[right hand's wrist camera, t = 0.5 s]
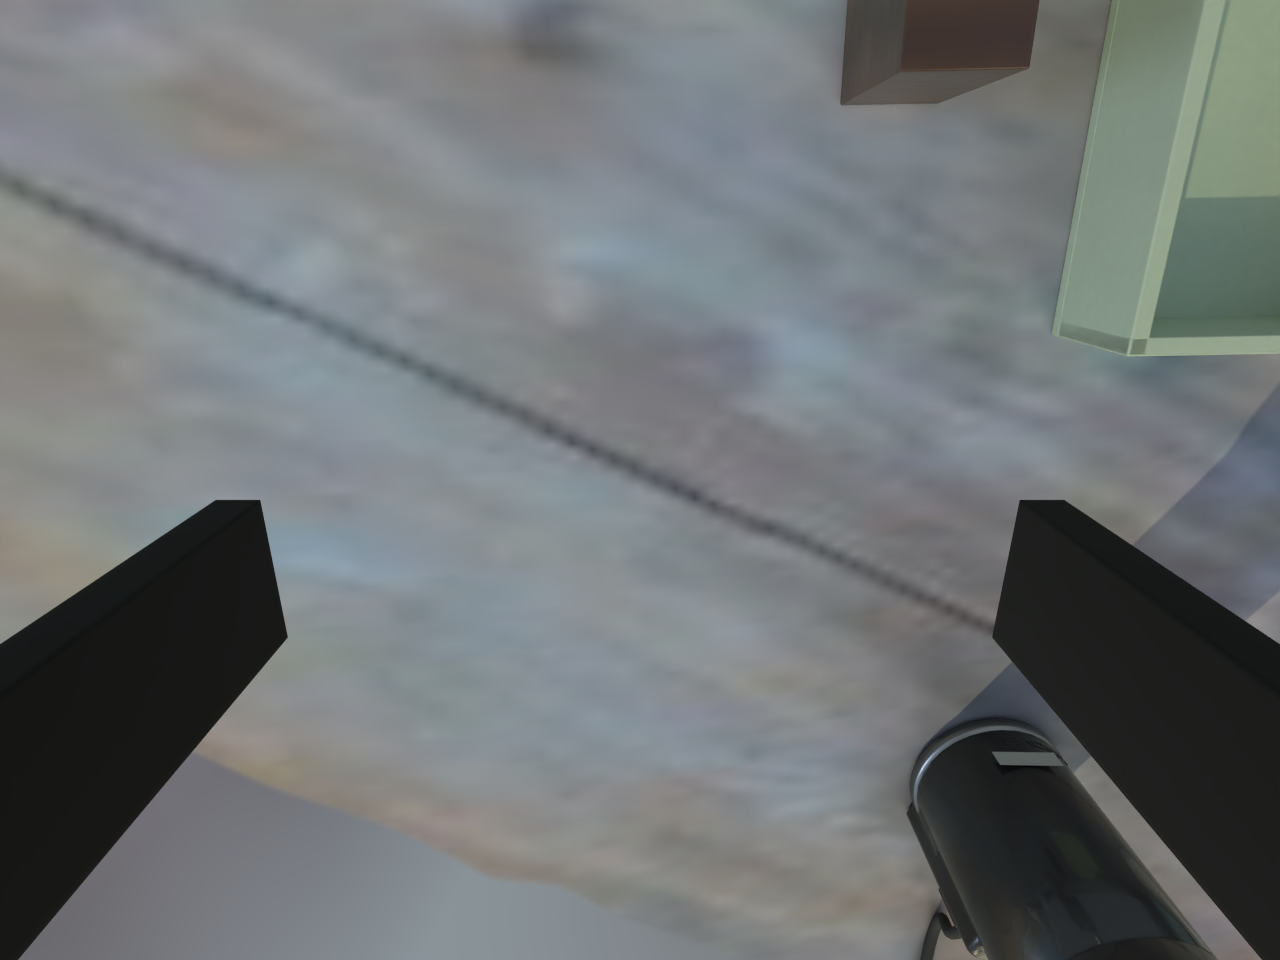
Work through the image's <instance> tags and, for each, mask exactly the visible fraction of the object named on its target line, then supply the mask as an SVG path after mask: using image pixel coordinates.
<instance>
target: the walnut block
mask: <svg viewBox="0 0 1280 960" xmlns="http://www.w3.org/2000/svg"><path fill="white" fill-rule="evenodd" d="M1038 6H1039V0H848V4H847V18H846V33H845V47H844V61H843V75H842V90H841V105H872V104H919V103H940V102H942V101H945V100H948V99H950V98H953V97H955V96H958V95H961V94H963V93H966V92H968V91H971V90H974V89H976V88H979V87H981V86H984V85H987V84H989V83H992V82H994V81H997V80H1000V79H1002V78H1005V77H1008V76H1010V75H1013V74H1015V73H1018V72H1021V71H1023V70H1026V69H1028V68H1029V66H1030V59H1031V52H1032V46H1033V39H1034V32H1035V26H1036V19H1037V12H1038Z"/></svg>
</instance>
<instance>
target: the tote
mask: <svg viewBox="0 0 1280 960" xmlns="http://www.w3.org/2000/svg"><path fill="white" fill-rule="evenodd" d="M1052 335H1055V336H1059V337H1062V338H1065V339H1069V340H1072V341H1076V342H1079V343H1083V344H1086V345H1090V346H1093V347H1097V348H1100V349H1104V350H1107V351H1111V352H1114V353H1118V354H1121V355H1125V356H1175V355H1227V354H1280V0H1112V2H1111V7H1110V13H1109V18H1108V24H1107V30H1106V35H1105V41H1104V46H1103V52H1102V57H1101V63H1100V68H1099V74H1098V80H1097V85H1096V91H1095V96H1094V102H1093V107H1092V113H1091V118H1090V124H1089V129H1088V135H1087V141H1086V146H1085V152H1084V157H1083V163H1082V168H1081V174H1080V179H1079V185H1078V190H1077V196H1076V202H1075V207H1074V213H1073V218H1072V224H1071V229H1070V235H1069V240H1068V246H1067V252H1066V257H1065V263H1064V268H1063V274H1062V279H1061V285H1060V290H1059V296H1058V301H1057V307H1056V313H1055V318H1054V324H1053V329H1052Z"/></svg>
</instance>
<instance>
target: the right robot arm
mask: <svg viewBox="0 0 1280 960" xmlns="http://www.w3.org/2000/svg"><path fill="white" fill-rule="evenodd" d="M287 638H288V636H287V631H286V626H285V621H284V616H283V611H282V606H281V601H280V597H279V592H278V587H277V582H276V577H275V572H274V567H273V562H272V557H271V552H270V547H269V542H268V537H267V532H266V527H265V522H264V517H263V512H262V507H261V502H260V500H215V501H214V502H212V503H211V504H209V505H208V506H206V507H205V508H203V509H202V510H200V511H199V512H197V513H196V514H194V515H193V516H191V517H190V518H188V519H187V520H185V521H184V522H182V523H181V524H179V525H178V526H176V527H175V528H173V529H172V530H170V531H169V532H167V533H166V534H164V535H163V536H161V537H160V538H158V539H157V540H155V541H154V542H152V543H151V544H149V545H148V546H146V547H145V548H143V549H142V550H140V551H139V552H137V553H136V554H134V555H133V556H131V557H130V558H128V559H127V560H126V561H124V562H123V563H121V564H120V565H118V566H117V567H115V568H114V569H112V570H111V571H109V572H108V573H106V574H105V575H103V576H102V577H100V578H99V579H97V580H96V581H94V582H93V583H91V584H90V585H88V586H87V587H85V588H84V589H82V590H81V591H79V592H78V593H76V594H75V595H73V596H72V597H70V598H69V599H67V600H66V601H64V602H63V603H61V604H60V605H58V606H57V607H55V608H54V609H52V610H51V611H49V612H48V613H46V614H45V615H43V616H42V617H40V618H39V619H37V620H36V621H34V622H33V623H31V624H30V625H28V626H27V627H25V628H24V629H22V630H21V631H19V632H18V633H16V634H15V635H13V636H12V637H10V638H9V639H7V640H6V641H4V642H3V643H1V644H0V960H18V959H19V958H20V957H21V955H22V954H23V953H24V952H25V951H26V950H27V948H28V947H29V946H30V945H31V944H32V942H33V941H34V940H35V939H36V938H37V936H38V935H39V934H40V933H41V932H42V930H43V929H44V928H45V927H46V926H47V924H48V923H49V922H50V921H51V920H52V918H53V917H54V916H55V915H56V914H57V912H58V911H59V910H60V909H61V908H62V906H63V905H64V904H65V903H66V902H67V901H68V899H69V898H70V897H71V896H72V895H73V893H74V892H75V891H76V890H77V889H78V887H79V886H80V885H81V884H82V883H83V881H84V880H85V879H86V878H87V877H88V875H89V874H90V873H91V872H92V871H93V869H94V868H95V867H96V866H97V865H98V863H99V862H100V861H101V860H102V859H103V857H104V856H105V855H106V854H107V853H108V852H109V850H110V849H111V848H112V847H113V846H114V844H115V843H116V842H117V841H118V840H119V838H120V837H121V836H122V835H123V834H124V832H125V831H126V830H127V829H128V828H129V826H130V825H131V824H132V823H133V822H134V820H135V819H136V818H137V817H138V816H139V814H140V813H141V812H142V811H143V810H144V808H145V807H146V806H147V805H148V804H149V803H150V801H151V800H152V799H153V798H154V797H155V795H156V794H157V793H158V792H159V791H160V789H161V788H162V787H163V786H164V785H165V783H166V782H167V781H168V780H169V779H170V777H171V776H172V775H173V774H174V773H175V771H176V770H177V769H178V768H179V767H180V765H181V764H182V763H183V762H184V761H185V760H186V758H187V757H188V756H189V755H190V754H191V752H192V751H193V750H194V749H195V748H196V746H197V745H198V744H199V743H200V742H201V740H202V739H203V738H204V737H205V736H206V734H207V733H208V732H209V731H210V730H211V728H212V727H213V726H214V725H215V724H216V722H217V721H218V720H219V719H220V718H221V717H222V715H223V714H224V713H225V712H226V711H227V709H228V708H229V707H230V706H231V705H232V703H233V702H234V701H235V700H236V699H237V697H238V696H239V695H240V694H241V693H242V691H243V690H244V689H245V688H246V687H247V685H248V684H249V683H250V682H251V681H252V679H253V678H254V677H255V676H256V675H257V673H258V672H259V671H260V670H261V669H262V668H263V666H264V665H265V664H266V663H267V662H268V660H269V659H270V658H271V657H272V656H273V654H274V653H275V652H276V651H277V650H278V648H279V647H280V646H281V645H282V644H283V642H284V641H285V640H286V639H287ZM992 638H993V639H994V640H995V641H996V642H997V644H998V645H999V646H1000V647H1001V648H1002V650H1003V651H1004V652H1005V653H1006V654H1007V656H1008V657H1009V658H1010V659H1011V660H1012V662H1013V663H1014V664H1015V665H1016V666H1017V668H1018V669H1019V670H1020V671H1021V672H1022V673H1023V675H1024V676H1025V677H1026V678H1027V679H1028V681H1029V682H1030V683H1031V684H1032V685H1033V687H1034V688H1035V689H1036V690H1037V691H1038V693H1039V694H1040V695H1041V696H1042V697H1043V699H1044V700H1045V701H1046V702H1047V703H1048V705H1049V706H1050V707H1051V708H1052V709H1053V711H1054V712H1055V713H1056V714H1057V715H1058V717H1059V718H1060V719H1061V720H1062V721H1063V722H1064V724H1065V725H1066V726H1067V727H1068V728H1069V730H1070V731H1071V732H1072V733H1073V734H1074V736H1075V737H1076V738H1077V739H1078V740H1079V742H1080V743H1081V744H1082V745H1083V746H1084V748H1085V749H1086V750H1087V751H1088V752H1089V754H1090V755H1091V756H1092V757H1093V758H1094V760H1095V761H1096V762H1097V763H1098V764H1099V766H1100V767H1101V768H1102V769H1103V770H1104V771H1105V773H1106V774H1107V775H1108V776H1109V777H1110V779H1111V780H1112V781H1113V782H1114V783H1115V785H1116V786H1117V787H1118V788H1119V789H1120V791H1121V792H1122V793H1123V794H1124V795H1125V797H1126V798H1127V799H1128V800H1129V801H1130V803H1131V804H1132V805H1133V806H1134V807H1135V809H1136V810H1137V811H1138V812H1139V813H1140V814H1141V816H1142V817H1143V818H1144V819H1145V820H1146V822H1147V823H1148V824H1149V825H1150V826H1151V828H1152V829H1153V830H1154V831H1155V832H1156V834H1157V835H1158V836H1159V837H1160V838H1161V840H1162V841H1163V842H1164V843H1165V844H1166V846H1167V847H1168V848H1169V849H1170V850H1171V852H1172V853H1173V854H1174V855H1175V856H1176V858H1177V859H1178V860H1179V861H1180V862H1181V863H1182V865H1183V866H1184V867H1185V868H1186V869H1187V871H1188V872H1189V873H1190V874H1191V875H1192V877H1193V878H1194V879H1195V880H1196V881H1197V883H1198V884H1199V885H1200V886H1201V887H1202V889H1203V890H1204V891H1205V892H1206V893H1207V895H1208V896H1209V897H1210V898H1211V899H1212V901H1213V902H1214V903H1215V904H1216V905H1217V907H1218V908H1219V909H1220V910H1221V911H1222V912H1223V914H1224V915H1225V916H1226V917H1227V918H1228V920H1229V921H1230V922H1231V923H1232V924H1233V926H1234V927H1235V928H1236V929H1237V930H1238V932H1239V933H1240V934H1241V935H1242V936H1243V938H1244V939H1245V940H1246V941H1247V942H1248V944H1249V945H1250V946H1251V947H1252V948H1253V950H1254V951H1255V952H1256V953H1257V954H1258V956H1259V957H1260V958H1261V959H1262V960H1280V644H1279V643H1277V642H1276V641H1274V640H1273V639H1271V638H1270V637H1268V636H1267V635H1265V634H1264V633H1262V632H1261V631H1259V630H1258V629H1256V628H1255V627H1253V626H1252V625H1250V624H1249V623H1247V622H1246V621H1244V620H1243V619H1241V618H1240V617H1238V616H1237V615H1235V614H1234V613H1232V612H1231V611H1229V610H1228V609H1226V608H1225V607H1223V606H1222V605H1220V604H1219V603H1217V602H1216V601H1214V600H1213V599H1211V598H1210V597H1208V596H1207V595H1205V594H1204V593H1202V592H1201V591H1199V590H1198V589H1196V588H1195V587H1193V586H1192V585H1190V584H1189V583H1187V582H1186V581H1184V580H1183V579H1181V578H1180V577H1178V576H1177V575H1175V574H1174V573H1172V572H1171V571H1169V570H1168V569H1166V568H1165V567H1163V566H1162V565H1160V564H1159V563H1157V562H1156V561H1154V560H1153V559H1152V558H1150V557H1149V556H1147V555H1146V554H1144V553H1143V552H1141V551H1140V550H1138V549H1137V548H1135V547H1134V546H1132V545H1131V544H1129V543H1128V542H1126V541H1125V540H1123V539H1122V538H1120V537H1119V536H1117V535H1116V534H1114V533H1113V532H1111V531H1110V530H1108V529H1107V528H1105V527H1104V526H1102V525H1101V524H1099V523H1098V522H1096V521H1095V520H1093V519H1092V518H1090V517H1089V516H1087V515H1086V514H1084V513H1083V512H1081V511H1080V510H1078V509H1077V508H1075V507H1074V506H1072V505H1071V504H1069V503H1068V502H1066V501H1065V500H1020V502H1019V507H1018V512H1017V517H1016V522H1015V527H1014V532H1013V537H1012V542H1011V547H1010V552H1009V557H1008V562H1007V567H1006V572H1005V577H1004V582H1003V587H1002V592H1001V596H1000V601H999V606H998V611H997V616H996V621H995V626H994V631H993V636H992Z"/></svg>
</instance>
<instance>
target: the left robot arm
mask: <svg viewBox="0 0 1280 960" xmlns="http://www.w3.org/2000/svg"><path fill="white" fill-rule="evenodd" d="M910 794H911V798H912V801H913V803H912V806H911V807H910V809H909V810H908V812H907V816H908V818H909V821H910V823H911V825H912V827H913V830H914V832H915V834H916V836H917V838H918V841H919V843H920V845H921V847H922V850H923V852H924V854H925V856H926V859H927V861H928V863H929V865H930V868H931V870H932V872H933V874H934V877H935V879H936V881H937V883H938V885H939V892H940V894H941V896H942V899H943V901H944V903H945V905H946V908H947V910H948V912H949V914H950V917H951V919H952V921H953V923H954V926H953V927H952V925H951V923H950V921H949V919H948V917H947V915H945V914H944V913H937V914H936V915H935V917H934V918H933V919H932V921H931V923H930V925H929V928H928V931H927V934H926V938H925V942H924V946H923V950H922V955H921V960H932V958H933V954H934V949H935V945H936V942H937V938H938V935H939V933H940V930H941V929H942V931H943V933H944V934H945V936H946V937H948V938H950V939H960V938H962V939H963V941H964V944H965V946H966V948H967V950H968V951H969V952H970V953H971V954H972V955H973V956H975V957H977V958H980V959H983V960H1218V959H1217V957H1216V956H1215V955H1214V954H1213V952H1212V951H1211V950H1210V948H1209V947H1208V946H1207V945H1206V943H1205V942H1204V941H1203V939H1202V938H1201V937H1200V936H1199V934H1198V933H1197V932H1196V930H1195V929H1194V928H1193V927H1192V925H1191V924H1190V923H1189V921H1188V920H1187V919H1186V918H1185V916H1184V915H1183V914H1182V912H1181V911H1180V910H1179V909H1178V907H1177V906H1176V905H1175V904H1174V902H1173V901H1172V900H1171V898H1170V897H1169V896H1168V895H1167V893H1166V892H1165V891H1164V889H1163V888H1162V887H1161V886H1160V884H1159V883H1158V882H1157V880H1156V879H1155V878H1154V877H1153V875H1152V874H1151V873H1150V871H1149V870H1148V869H1147V868H1146V866H1145V865H1144V864H1143V862H1142V861H1141V860H1140V859H1139V857H1138V856H1137V855H1136V853H1135V852H1134V851H1133V850H1132V848H1131V847H1130V846H1129V844H1128V843H1127V842H1126V841H1125V839H1124V838H1123V837H1122V835H1121V834H1120V833H1119V832H1118V830H1117V829H1116V828H1115V826H1114V825H1113V824H1112V823H1111V821H1110V820H1109V819H1108V817H1107V816H1106V815H1105V814H1104V812H1103V811H1102V810H1101V808H1100V807H1099V806H1098V805H1097V803H1096V802H1095V801H1094V800H1093V798H1092V797H1091V796H1090V794H1089V793H1088V792H1087V790H1086V789H1085V788H1084V787H1083V785H1082V784H1081V783H1080V781H1079V780H1078V779H1077V778H1076V776H1075V775H1074V774H1073V772H1072V771H1071V770H1070V769H1069V767H1068V765H1067V763H1066V762H1065V761H1064V760H1063V758H1062V756H1061V755H1060V753H1059V752H1058V750H1057V749H1056V748H1055V747H1054V745H1053V744H1052V743H1051V741H1050V740H1049V739H1048V738H1047V737H1046V736H1045V735H1044V734H1043V733H1042V732H1040V731H1039V730H1037V729H1036V728H1034V727H1032V726H1030V725H1028V724H1025V723H1022V722H1019V721H1014V720H1009V719H985V720H979V721H974V722H970V723H967V724H964V725H961V726H959V727H956V728H954V729H952V730H950V731H948V732H946V733H945V734H943V735H942V736H940V737H939V738H938V739H936V740H935V741H934V742H933V743H932V744H930V745H929V746H928V747H927V748H926V750H925V751H924V752H923V753H922V754H921V756H920V757H919V759H918V760H917V762H916V764H915V766H914V769H913V771H912V775H911V779H910Z"/></svg>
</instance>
